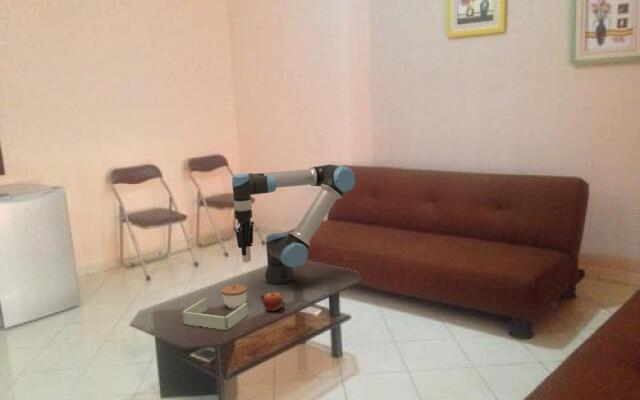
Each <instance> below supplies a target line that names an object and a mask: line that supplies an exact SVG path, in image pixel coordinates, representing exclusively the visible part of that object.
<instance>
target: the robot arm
mask: <svg viewBox="0 0 640 400" xmlns="http://www.w3.org/2000/svg"><path fill="white" fill-rule="evenodd" d="M231 181H232V185H231V186H232V195H233V208H234V219H236V221H237V226H235V227H234V228H233V230H234V232H235V236H236V241H237V246H238V247H237V248H239V249H241V256H242V257H241V258H242V263H249V262H251V261H252V258H251V257H252V255H251V247H253V243H254V225H255V222H254V221H251V219H252V218H253V211H252V208H253V207H252V195H262V194H270V193H275V192H276V190H277V189H278V188H287V187H288V188H289V187H299V186H311V187H312V188H313V187H320V191H319V193H318V194H317V195H316V197H315V199H314V200H313V202H312V203H311V205H310V206H309V208H308V210H307V211H306V212H305V214H304V216H303V217H302V219H301V220H300V221H299V223H298V224H297V226H296V228H295V229H294V230H293V231H291V232H277V233H272V234H271V233H270V234H268V235H266V237H265V245H266V262H267V267H266V271H265V274H264V281H265V282H266V283H267V284H270V285H286V284H289V282H290V283H292V281H293V282H295V280H296V279H297V275H296V272H295V269H297V268H299V267H301V266H303V265H304V264H305V262H307V259H308V257H309V254H308V252H309V251H308V250H309V249H310V247H311V243H310V242H311V240H312V238H313V237H314V235H315V234H316V232H317V230H318V229H319V227H320V226H321V224H322V222H323V221H324V219H325V218H326V217H327V215H328V213H329V212H330V210H331V209H332V207H333V205H334V204H335V203H336V201H337V200H339V199H342V197H343V196H344V194H345V193H348V192H351V191H352V189H353V188H354V187H355V185H356V177H355V173H354V172H353V169H351V168H350V167H347V166H344V165H336V164H325V165H317V166H311V167H309V168H308V169H297V170H286V171H284V170H283V171H282V170H281V171H273V172H262V173H260V172H259V173H252V172H251V173H250V172H249V173H236V174H234V175H232V179H231ZM285 283H286V284H285Z"/></svg>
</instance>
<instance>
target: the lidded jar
mask: <svg viewBox="0 0 640 400" xmlns="http://www.w3.org/2000/svg"><path fill="white" fill-rule="evenodd" d="M221 296H222V300H223V302H224V305H226V306H227V307H228V308H229V309H230V310H231V309H232V310H233V309H235V310H236V309H237V308H239V307H240V306H242V305H243V304H245V303H246V301H247V299H248V298H247V296H248V287H247V286H246V285H242V284H233V285H227V286H224V287H223V288H222V289H221Z"/></svg>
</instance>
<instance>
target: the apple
mask: <svg viewBox="0 0 640 400" xmlns="http://www.w3.org/2000/svg"><path fill="white" fill-rule="evenodd" d="M283 301H284V300H283V297H282V295H281V294H280V293H279V292H274V291H273V292H269V293H267V294H266V295H265V296H263V300H262V304H263V307H264V308H265V309H266V310H268V311H272V312H275V311H277V310H279V309H281V307H282V305H283Z"/></svg>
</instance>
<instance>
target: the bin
mask: <svg viewBox="0 0 640 400" xmlns="http://www.w3.org/2000/svg"><path fill="white" fill-rule="evenodd" d="M248 305H249V303H247V302H245V303H244V304H243V305H242V306H240V307H239V308H236V309H235V310H233V311H232V312H230V313H229V314H227V315H226V316H221V315H215V314H207V313H206V314H205V313H204V312H206V311H208V301H207V298H202V299H201V300H199V301H198V302H196V303H194V304H193V305H191V306H189V307H188V308H186V309H184V310H183V311H181V312H180V315H181V324H182V325H185V324H187V325H186V326H192V325H193V326H194V327H199V326H202V327H201V328H207V327H208V328H209V329H214V328H215V329H216V330H223V331H228V330H230V329H231V328H232V327H234V326H235V325H237V324H238V323H239V322H241V321H242V320H244V318H246V317H247V316H249V306H248ZM215 329H214V330H215Z"/></svg>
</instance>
